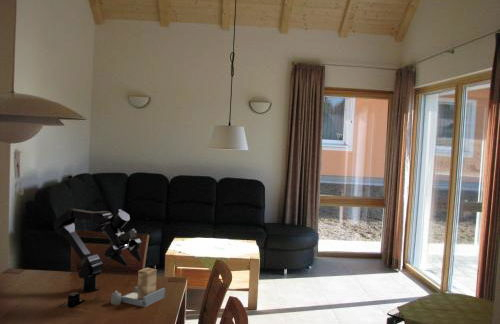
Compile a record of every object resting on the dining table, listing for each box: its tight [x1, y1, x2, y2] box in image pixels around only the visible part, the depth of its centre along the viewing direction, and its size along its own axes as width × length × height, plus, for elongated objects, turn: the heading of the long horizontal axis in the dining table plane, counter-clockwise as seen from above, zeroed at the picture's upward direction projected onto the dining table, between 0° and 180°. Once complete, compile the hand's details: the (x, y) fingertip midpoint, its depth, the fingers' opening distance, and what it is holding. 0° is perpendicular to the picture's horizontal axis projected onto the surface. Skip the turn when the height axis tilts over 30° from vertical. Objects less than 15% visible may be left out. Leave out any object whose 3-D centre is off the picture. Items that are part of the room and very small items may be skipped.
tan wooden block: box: [137, 267, 158, 301], centre depth 195 cm, size 5×6×13 cm
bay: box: [110, 285, 166, 308], centre depth 194 cm, size 16×18×6 cm
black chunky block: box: [60, 291, 86, 309], centre depth 191 cm, size 12×7×5 cm, turn 166°
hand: (133, 263), depth 198 cm, fingers open, 9 cm apart
